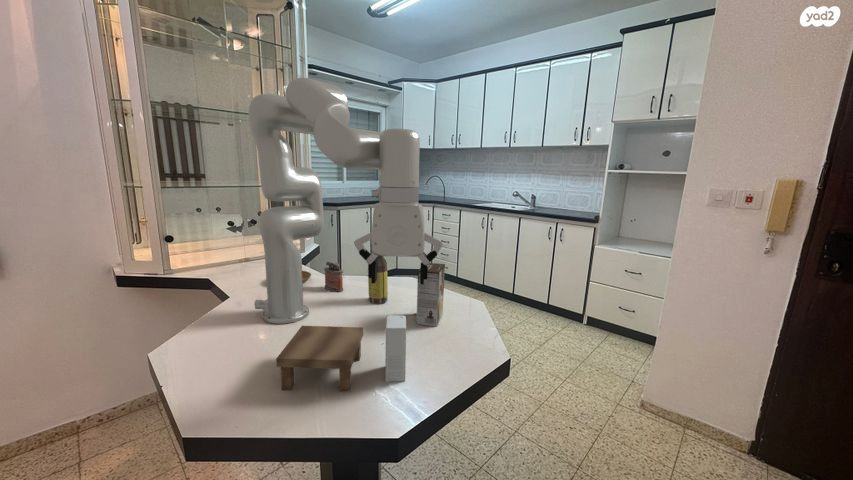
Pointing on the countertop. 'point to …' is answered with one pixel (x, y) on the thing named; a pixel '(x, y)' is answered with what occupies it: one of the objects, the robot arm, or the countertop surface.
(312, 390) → the countertop surface
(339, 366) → the walnut stool
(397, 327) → the skincare box
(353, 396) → the countertop surface
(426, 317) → the coffee box
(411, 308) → the countertop surface
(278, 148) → the robot arm
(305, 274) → the plant saucer
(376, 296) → the sauce bottle
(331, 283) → the lighter
